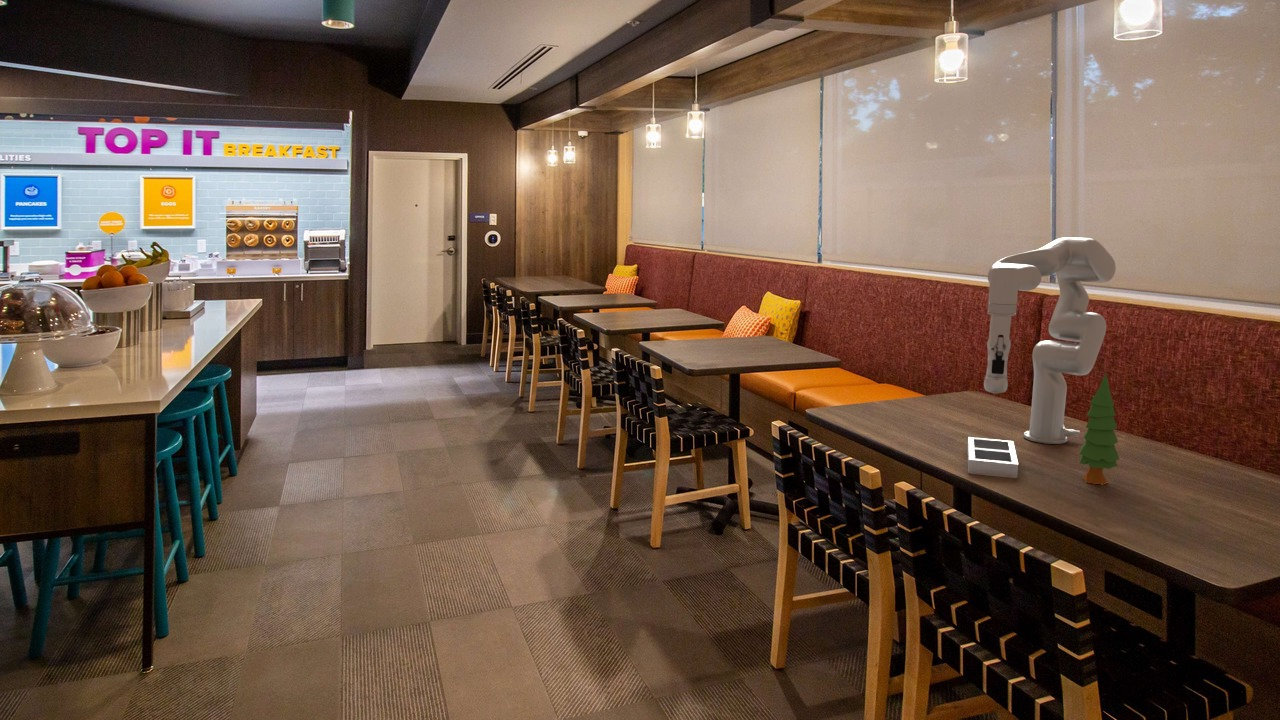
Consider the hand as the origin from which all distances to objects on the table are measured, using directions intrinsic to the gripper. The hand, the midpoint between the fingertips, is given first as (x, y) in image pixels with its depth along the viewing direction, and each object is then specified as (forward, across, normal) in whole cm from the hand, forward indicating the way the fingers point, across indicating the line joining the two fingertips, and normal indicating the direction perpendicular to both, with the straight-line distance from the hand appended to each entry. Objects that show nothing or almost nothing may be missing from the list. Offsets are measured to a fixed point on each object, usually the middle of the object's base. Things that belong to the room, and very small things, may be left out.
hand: (997, 370), depth 242 cm
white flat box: (+26, +6, 0) cm, 27 cm away
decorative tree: (+26, +14, +26) cm, 39 cm away
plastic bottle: (+7, 0, 0) cm, 7 cm away
